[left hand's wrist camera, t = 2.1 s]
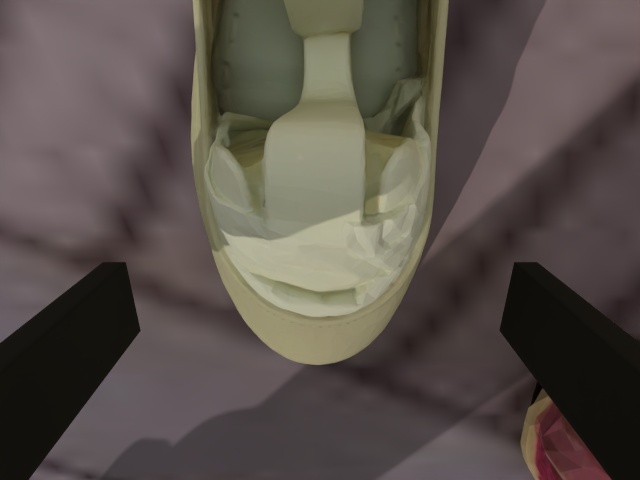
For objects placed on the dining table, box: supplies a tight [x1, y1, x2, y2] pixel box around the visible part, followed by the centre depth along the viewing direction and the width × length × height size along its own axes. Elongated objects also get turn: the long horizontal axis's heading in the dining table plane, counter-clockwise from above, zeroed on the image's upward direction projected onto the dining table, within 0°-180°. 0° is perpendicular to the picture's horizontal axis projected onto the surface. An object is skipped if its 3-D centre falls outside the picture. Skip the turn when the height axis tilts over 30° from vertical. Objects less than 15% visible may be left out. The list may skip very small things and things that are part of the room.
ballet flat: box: [191, 0, 449, 365], centre depth 10 cm, size 8×25×8 cm, turn 0°
